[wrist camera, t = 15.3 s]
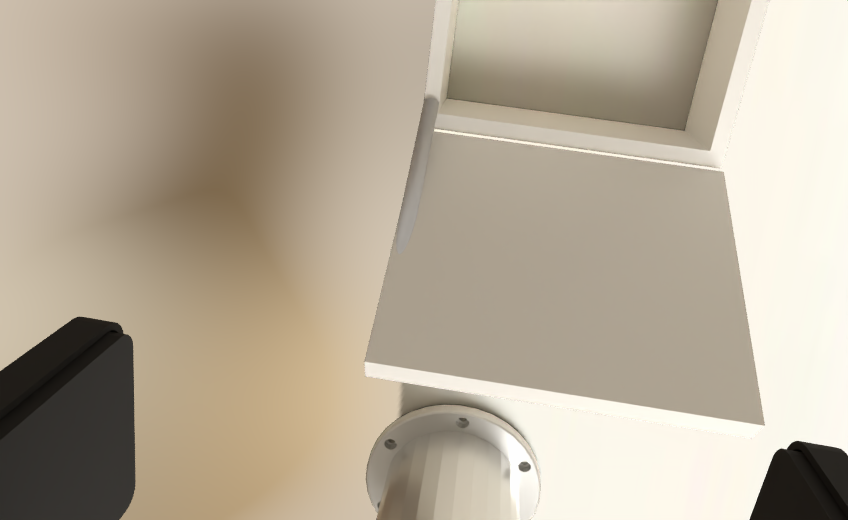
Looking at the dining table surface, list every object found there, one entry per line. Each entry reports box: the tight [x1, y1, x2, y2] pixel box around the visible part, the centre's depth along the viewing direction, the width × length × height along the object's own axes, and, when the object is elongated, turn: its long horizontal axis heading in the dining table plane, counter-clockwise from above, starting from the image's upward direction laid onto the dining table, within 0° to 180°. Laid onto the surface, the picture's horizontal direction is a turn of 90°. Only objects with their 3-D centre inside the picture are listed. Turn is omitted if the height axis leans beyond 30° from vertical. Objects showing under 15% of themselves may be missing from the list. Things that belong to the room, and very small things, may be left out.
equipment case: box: [365, 0, 770, 439], centre depth 31 cm, size 24×16×18 cm, turn 173°
